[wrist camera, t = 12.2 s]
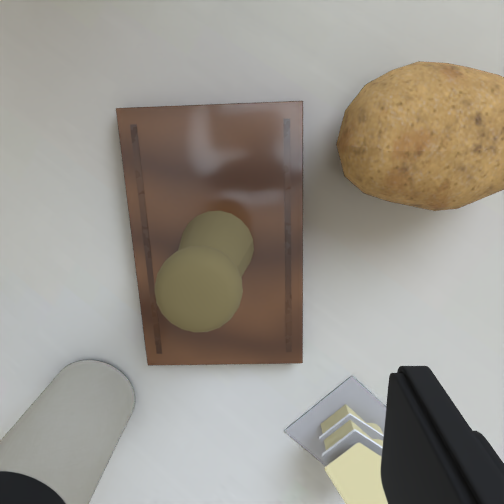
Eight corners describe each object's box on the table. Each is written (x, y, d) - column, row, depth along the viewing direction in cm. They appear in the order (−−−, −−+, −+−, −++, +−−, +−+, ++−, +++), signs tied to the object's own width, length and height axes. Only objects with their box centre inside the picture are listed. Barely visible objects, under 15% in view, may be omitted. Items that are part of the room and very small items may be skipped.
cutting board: (122, 109, 31) (115, 108, 30) (301, 102, 31) (303, 100, 29) (152, 356, 37) (147, 365, 36) (301, 354, 37) (302, 363, 35)
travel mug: (40, 371, 38) (-145, 567, 21) (114, 347, 37) (-17, 531, 20) (78, 436, 40) (-62, 663, 23) (149, 415, 39) (58, 635, 22)
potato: (498, 198, 32) (571, 218, 25) (324, 202, 33) (342, 222, 25) (518, 67, 29) (607, 44, 22) (327, 74, 30) (349, 53, 22)
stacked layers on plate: (283, 430, 39) (287, 476, 34) (351, 375, 37) (366, 415, 32) (351, 488, 41) (364, 540, 36) (420, 438, 39) (444, 485, 34)
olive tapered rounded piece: (179, 277, 33) (139, 343, 23) (182, 207, 32) (140, 243, 21) (250, 284, 33) (243, 353, 23) (257, 214, 32) (253, 254, 21)
